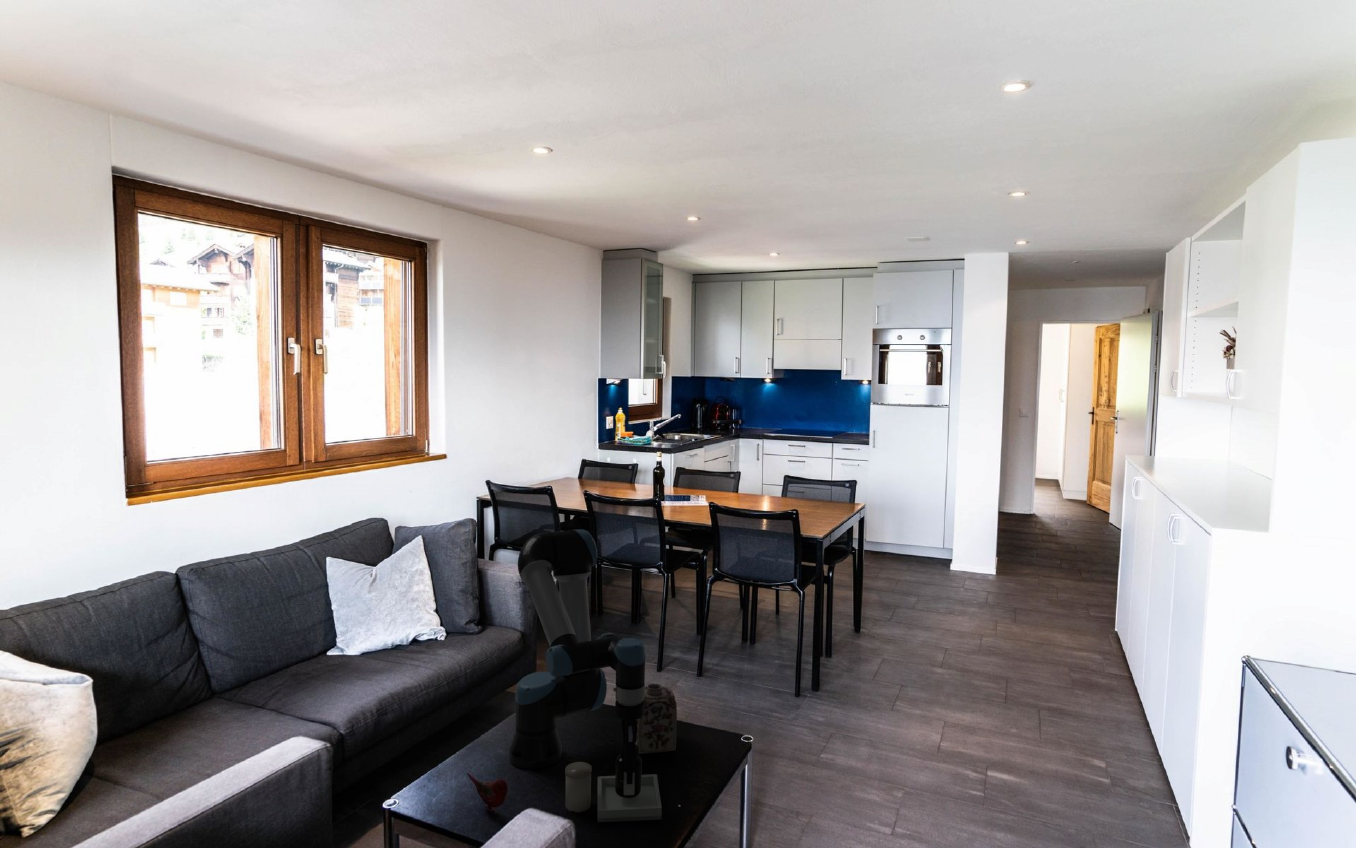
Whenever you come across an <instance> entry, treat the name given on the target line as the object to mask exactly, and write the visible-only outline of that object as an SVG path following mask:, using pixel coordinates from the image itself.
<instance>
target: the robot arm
mask: <svg viewBox="0 0 1356 848" xmlns="http://www.w3.org/2000/svg"><path fill="white" fill-rule="evenodd" d="M597 563H598V549H597V544H596V541H595V540H594V537H593V536H592V534H591V533H590V532H589V531H588V530H585V529H568V530H560V531H559V530H558V531H557V530H556V531H549V532H547V531H546V532H545V531H544V532H539V533H536V534H534V535H533V536H531V537H529V538H528V539H527V540H526V542H525V543H524V544H523V545H522V546H521V549H520V551H519V555H518V559H517V571H518V575H519V577H520V579H521V581H522V582H523V583H524V584H526V586H527V588H528V592H529V594H530V596H531V599H532V602H533V604H534V608H535V610H536V613H537V615H538V617H539V621H540V623H541V626H542V630H543V632H544V634H545V637H546V640H547V642H548V644H549V645H548V646H549V648H548V649H547V650H546V651H545V663H546V669H547V671H537V672H532V673H529V674H527V675H525V676H523V677H522V678H521V679H520V680H519V681H518V683H517V684H516V688H515V689H516V690H515V697H514V699H515V732H514V735H513V738H512V741H511V744H510V747H509V752H508V753H509V755H508V756H509V759H508V760H509V762H510V763H511V764H512V765H513V766H515V767H518V768H521V769H527V770H537V769H543V768H547V767H550V766H553V765H554V764H556V763H558V762H559V761H560V759H561V758H562V755H563V746H562V742H561V740H560V737H559V734H558V731H557V719H561V718H565V717H568V716H569V717H570V716H574V715H577V714H583V713H590V712H591V711H595V710H598V709H600V708H601V707H602V706H603V704H604V703H605V700H606V697H607V691H608V687H607V686H608V685H607V678H606V674H605V672H604V670H603V669H604V668H610V669H612V670H613V671H615V687H613V689H612V690H613V692H614V693H615V703H614V705H615V708H614V711H615V712H614V713H615V717H616V718H618V719H620V720H621V733H622V742H623V743H622V745H623V744H625V768H624V769H622V772H624V795H634V790H635V742H636V732H637V719H640V718H641V717H642V716H643V715H644V698H645V686H646V683H645V679H646V678H645V677H646V676H645V675H646V658H647V657H646V644H645V643H644V642H643V640H641V639H639V638H638V639H637V638H635V637H626V638H622V637H620V636H619V635H618V634H615V633H612V632H610V631H609V632H607V631H606V632H603V633H602V634H600V635H599V636H598V637H597V638H596V639H593V640H592V635H591V634H592V633H591V619H590V603H589V602H590V601H589V592H588V591H589V589H588V578H589V577H590V575H591V574H592V567H594V566H595V565H596V564H597ZM555 580H557V581H558V586H557V583H556V582H555Z"/></svg>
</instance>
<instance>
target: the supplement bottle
mask: <svg viewBox="0 0 1356 848" xmlns="http://www.w3.org/2000/svg"><path fill="white" fill-rule="evenodd" d="M624 768H625V744H623V743H622V745H620V747H619V755H618V756H617V757H616V759H615V773H614V774H615V775H614V776H615V792H616V794H617V795H618V796H620V797H623V798H633V797H636V796H637V795H639V793H640V792H641V776H642V775H643V774H642V773H643V772H642V771H643V770H642V769H643V760H642V758H641V756H640V754H639V747H638V746H637V745H636V744H635V790H634V795H624V772H622V769H624Z"/></svg>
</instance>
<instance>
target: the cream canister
mask: <svg viewBox="0 0 1356 848" xmlns="http://www.w3.org/2000/svg"><path fill="white" fill-rule="evenodd" d="M592 771H593V769H592V765H590V764H589V763H588V762H583V761H575V762H572V763H569V764H568V765H566V767H565V769H564V773H565V809H566V808H567V809H568V810H567V809H566V810H567V811H569V810H570V811H569V812H571V811H574V812H573V813H583V812H585V811H588V809H590V808H591V806H592V803H591V802H592Z"/></svg>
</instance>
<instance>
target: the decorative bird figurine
mask: <svg viewBox="0 0 1356 848" xmlns="http://www.w3.org/2000/svg"><path fill="white" fill-rule="evenodd" d="M466 774H467V777H469V779H470V780H471V782H472V783H473V784H474V786H475V789H476V791H477V794H478V795H479V797H480V798H481V799H482V801H483V803H484V804H486V807H485V808H486V809H487V810H488V809H489V810H488V811H490V813H492V812H493V813H496V814H495V815H497V816H499V814H498V813H497V812H496V811H495V809H493V808H498V807H500V806H501V805H502V804H503V803H504V802H505V799H506V796H507V793H508V794H509V791H508V790H509V789H508V784H507V782H506V781H505V780H504V779H498V780H496V781H494V782H493V781H492V782H490V781H485V780H484V781H478V780H477V779H476V778H475V777H473V775H471V774H470V773H466ZM493 813H492V814H493Z"/></svg>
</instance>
